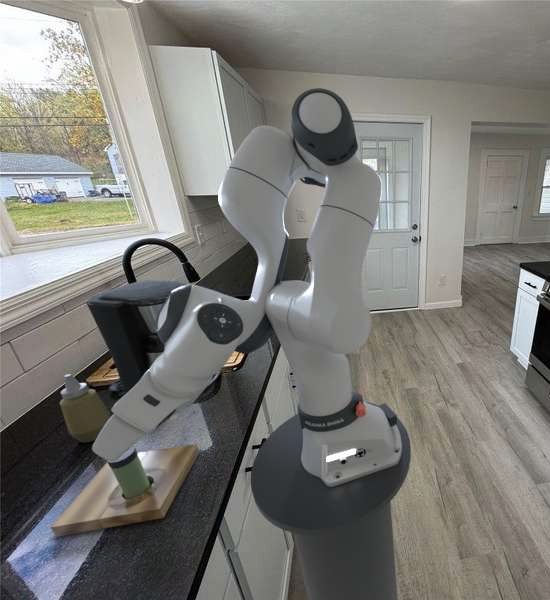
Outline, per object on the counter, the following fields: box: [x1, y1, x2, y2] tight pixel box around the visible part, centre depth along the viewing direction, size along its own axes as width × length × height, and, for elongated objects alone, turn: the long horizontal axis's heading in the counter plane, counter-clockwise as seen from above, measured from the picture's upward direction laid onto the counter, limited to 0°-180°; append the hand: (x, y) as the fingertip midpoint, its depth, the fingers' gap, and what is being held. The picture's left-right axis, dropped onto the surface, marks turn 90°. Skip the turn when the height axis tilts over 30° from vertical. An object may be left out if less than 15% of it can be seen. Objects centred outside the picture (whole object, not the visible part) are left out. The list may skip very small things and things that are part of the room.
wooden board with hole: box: [50, 443, 200, 537], centre depth 65 cm, size 18×16×2 cm
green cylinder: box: [106, 445, 151, 499], centre depth 62 cm, size 4×4×12 cm
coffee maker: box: [85, 279, 221, 395], centre depth 93 cm, size 23×32×34 cm
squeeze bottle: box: [59, 373, 112, 443], centre depth 78 cm, size 8×8×18 cm
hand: (141, 427), depth 57 cm, fingers open, 8 cm apart
